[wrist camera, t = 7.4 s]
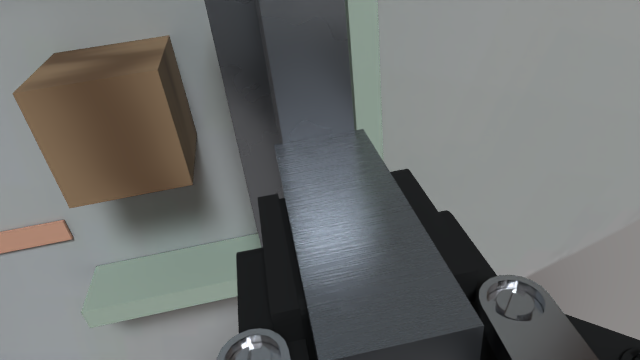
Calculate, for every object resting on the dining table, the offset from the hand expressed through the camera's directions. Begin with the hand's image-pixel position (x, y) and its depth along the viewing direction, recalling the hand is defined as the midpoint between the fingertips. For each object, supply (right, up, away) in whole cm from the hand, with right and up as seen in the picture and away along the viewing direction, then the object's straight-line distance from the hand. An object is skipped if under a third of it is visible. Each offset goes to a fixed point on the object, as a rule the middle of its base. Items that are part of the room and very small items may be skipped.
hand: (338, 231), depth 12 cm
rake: (-1, +4, +7) cm, 8 cm away
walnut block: (-9, +5, +10) cm, 15 cm away
